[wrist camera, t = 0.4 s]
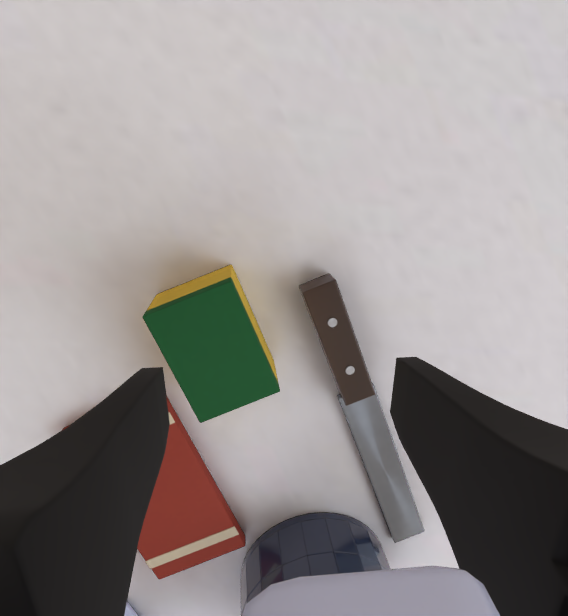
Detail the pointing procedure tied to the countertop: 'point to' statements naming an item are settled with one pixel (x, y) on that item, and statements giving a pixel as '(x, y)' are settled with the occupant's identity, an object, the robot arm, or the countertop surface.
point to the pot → (310, 551)
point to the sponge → (213, 343)
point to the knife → (361, 406)
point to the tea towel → (185, 510)
